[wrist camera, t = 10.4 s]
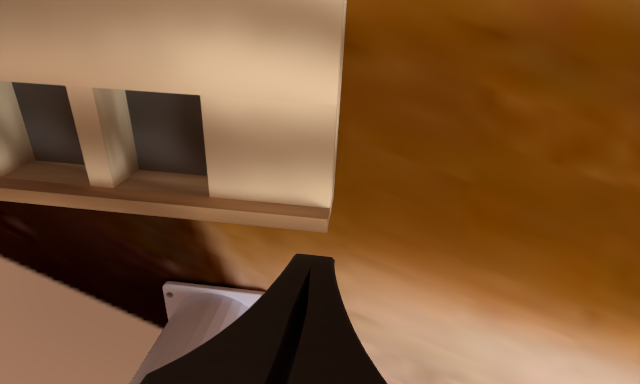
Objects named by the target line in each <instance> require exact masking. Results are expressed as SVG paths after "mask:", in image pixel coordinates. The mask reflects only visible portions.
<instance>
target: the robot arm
mask: <svg viewBox="0 0 640 384" xmlns="http://www.w3.org/2000/svg"><path fill="white" fill-rule="evenodd" d="M334 261H335V260H334V259H333V258H332V257H325V256H315V255H306V254H296V255H295V256H294V257H293V258H292V260H291V261H290V263H289V264H288V265H287V267H286V268H285V269H284V271H283V272H282V273H281V274H280V276H279V277H278V278H277V279H276V280H275V282H274V283H273V284H272V285H271V286H270V287H269V289H268V290H267V291H266V292H262V291H253V290H244V289H235V288H226V287H217V286H208V285H199V284H191V283H182V282H173V281H167V282H166V283H165V284H164V285H163V294H164V299H165V305H166V310H167V316H168V323H167V325H166V326H165V328H164V329H163V331H162V332H161V334H160V336H159V337H158V339H157V341H156V342H155V344H154V345H153V347H152V349H151V350H150V351H149V353H148V355H147V356H146V358H145V359H144V361H143V363H142V364H141V366H140V368H139V369H138V371H137V372H136V374H135V375H134V377H133V379H132V380H131V382H130V383H129V384H387V383H386V381H385V380H384V378H383V377H382V376H381V374H380V373H379V371H378V370H377V368H376V367H375V365H374V364H373V362H372V361H371V359H370V357H369V356H368V354H367V353H366V351H365V349H364V348H363V346H362V344H361V342H360V340H359V338H358V336H357V335H356V333H355V331H354V328H353V326H352V324H351V322H350V320H349V317H348V315H347V312H346V310H345V307H344V304H343V301H342V298H341V295H340V292H339V289H338V285H337V281H336V276H335V269H334ZM171 293H172V294H171Z"/></svg>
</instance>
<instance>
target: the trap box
mask: <svg viewBox="0 0 640 384" xmlns="http://www.w3.org/2000/svg"><path fill="white" fill-rule="evenodd" d="M346 5H347V0H0V201H10V202H20V203H31V204H41V205H51V206H61V207H71V208H81V209H91V210H101V211H112V212H122V213H132V214H142V215H152V216H162V217H172V218H183V219H193V220H203V221H213V222H223V223H233V224H243V225H254V226H264V227H274V228H284V229H294V230H304V231H314V232H325V233H327V230H328V225H329V219H330V213H331V208H332V202H333V197H334V182H335V167H336V153H337V138H338V123H339V108H340V94H341V79H342V64H343V50H344V35H345V20H346Z"/></svg>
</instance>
